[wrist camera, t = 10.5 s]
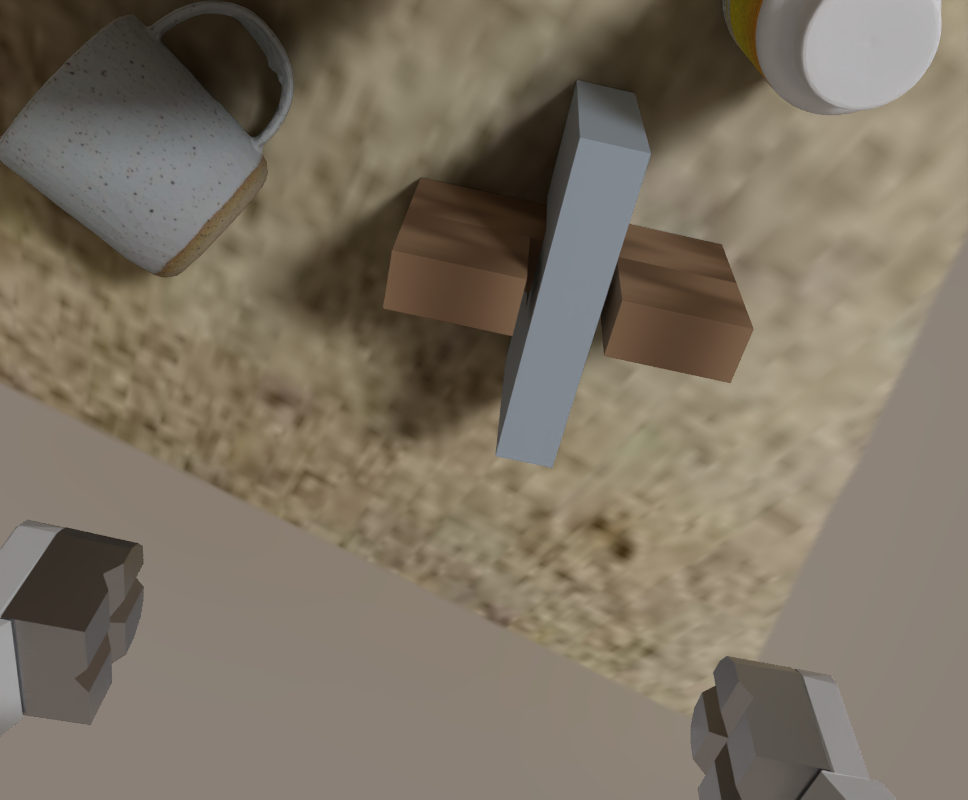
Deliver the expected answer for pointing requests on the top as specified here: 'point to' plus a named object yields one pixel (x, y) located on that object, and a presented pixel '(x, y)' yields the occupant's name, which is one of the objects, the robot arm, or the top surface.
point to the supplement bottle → (837, 48)
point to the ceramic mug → (145, 141)
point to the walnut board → (511, 268)
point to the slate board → (571, 268)
